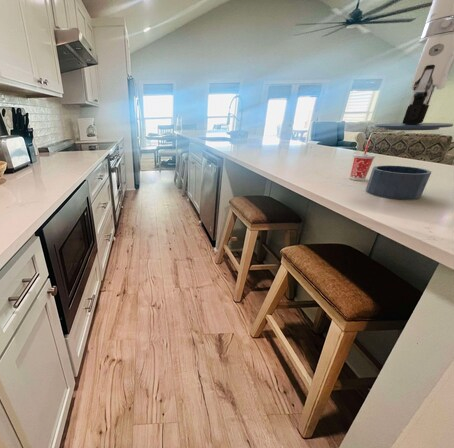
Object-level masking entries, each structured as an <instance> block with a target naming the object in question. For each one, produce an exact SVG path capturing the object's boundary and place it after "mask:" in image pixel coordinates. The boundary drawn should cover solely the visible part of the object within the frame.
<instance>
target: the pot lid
mask: <svg viewBox="0 0 454 448" xmlns="http://www.w3.org/2000/svg"><path fill="white" fill-rule="evenodd" d="M453 126H454V123H447V122H422V123H419V124H403V123H402V122H392V123H391V122H390V123H389V122H388V123H376V124H375V125H374V127H375V128H381V129H382V128H383V130H386V131H438V130H440V128H442V129H443V128H452V127H453Z"/></svg>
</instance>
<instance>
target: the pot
mask: <svg viewBox="0 0 454 448" xmlns="http://www.w3.org/2000/svg"><path fill="white" fill-rule="evenodd" d="M431 174H432V171H431V170H429V169H426V168H421V167H415V166H406V165H376V166H375V165H374V167H372V170H371V172H370V176H369V179H368V181H367V185H366V188H365V191H366V192H367V194H369V195H373V196H376V197H380V198H385V199H390V200H391V199H392V200H402V201H406V200H407V201H413V200H414V201H415V200H419V199H420V198H421V197H422V195H423V193H424V191H425V188H426V186H427V184H428V182H429V180H430V177H431Z"/></svg>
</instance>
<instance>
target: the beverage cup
mask: <svg viewBox="0 0 454 448" xmlns="http://www.w3.org/2000/svg"><path fill="white" fill-rule="evenodd" d="M370 142H371V141H370V140H368V141H367V143H366V146H365V149H364V153H355V154H353V162H352V166H351V170H350V175H349V180H353V181H359V182H361V181H366V178H367V175H368V173H369V171H370V168H371V166H372V163H373V161H374V159H375V158H376V155H375V154H370V153H368V152H367V151H368V148H369V145H370Z"/></svg>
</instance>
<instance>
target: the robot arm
mask: <svg viewBox="0 0 454 448" xmlns="http://www.w3.org/2000/svg"><path fill="white" fill-rule="evenodd" d="M418 43H419V44H421V45H423V44H424V46H423V48H422V50H421V55H420V56H419V59H418V63H417V65H416V68H415V71H414V75H413V78H412V81H411V85H410V90H412V91H413V93H412V97H411V99H410V102H409V105H407V108H406V110H405V114H404V117H403V120H402V122H401V123H403V124H419V123H424V120H425V117H426V116H427V115H426V114H427V112H428V110H429V107H430V101H431V99H432V97H433V94H434V92H435V89H436V90H442V89H444V88H445V86H446V84H447V81H448V79H449V75H450V73H451V70H452V68H453V65H454V0H432V2H431V5H430V9H429V11H428V15H427V18H426V21H425V23H424V27H423V30H422V32H421V35H420V38H419V41H418Z"/></svg>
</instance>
